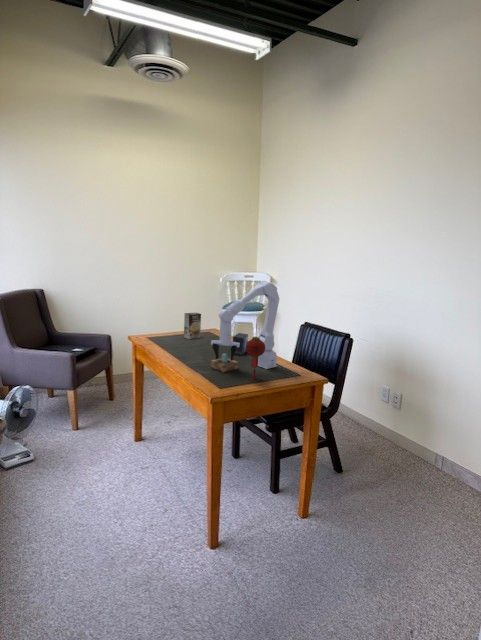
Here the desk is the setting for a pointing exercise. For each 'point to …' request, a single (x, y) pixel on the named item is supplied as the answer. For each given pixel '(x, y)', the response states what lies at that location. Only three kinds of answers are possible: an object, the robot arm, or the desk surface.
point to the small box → (241, 343)
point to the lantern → (255, 350)
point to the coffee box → (192, 325)
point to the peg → (224, 358)
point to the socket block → (224, 365)
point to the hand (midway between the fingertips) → (224, 359)
